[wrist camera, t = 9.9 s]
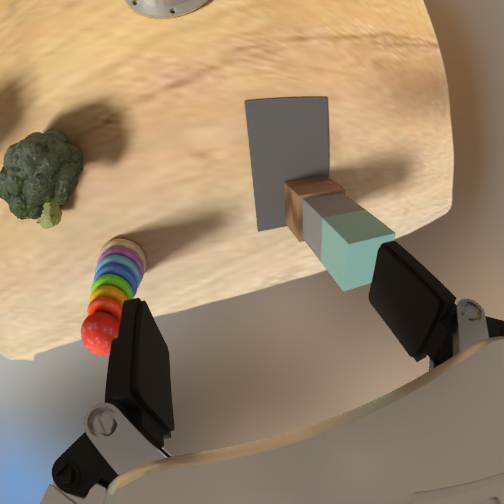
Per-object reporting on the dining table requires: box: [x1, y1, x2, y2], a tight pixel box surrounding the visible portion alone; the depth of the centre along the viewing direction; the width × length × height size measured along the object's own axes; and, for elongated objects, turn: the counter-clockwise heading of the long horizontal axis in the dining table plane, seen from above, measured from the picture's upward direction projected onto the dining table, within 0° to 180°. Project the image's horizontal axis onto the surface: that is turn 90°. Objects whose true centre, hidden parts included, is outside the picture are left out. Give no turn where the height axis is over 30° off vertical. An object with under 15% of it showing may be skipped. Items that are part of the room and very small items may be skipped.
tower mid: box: [302, 193, 365, 261], centre depth 35 cm, size 6×6×6 cm
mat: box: [245, 97, 329, 232], centre depth 39 cm, size 20×12×1 cm, turn 5°
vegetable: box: [0, 130, 83, 229], centre depth 27 cm, size 12×13×15 cm
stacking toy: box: [81, 239, 147, 356], centre depth 33 cm, size 8×8×19 cm
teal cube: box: [321, 210, 395, 291], centre depth 30 cm, size 6×6×6 cm
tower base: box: [284, 176, 345, 242], centre depth 40 cm, size 7×7×6 cm
